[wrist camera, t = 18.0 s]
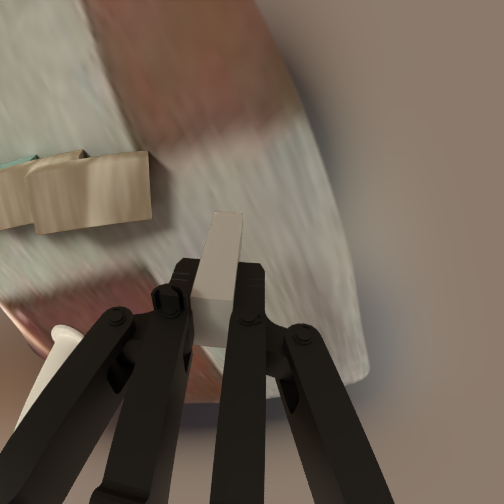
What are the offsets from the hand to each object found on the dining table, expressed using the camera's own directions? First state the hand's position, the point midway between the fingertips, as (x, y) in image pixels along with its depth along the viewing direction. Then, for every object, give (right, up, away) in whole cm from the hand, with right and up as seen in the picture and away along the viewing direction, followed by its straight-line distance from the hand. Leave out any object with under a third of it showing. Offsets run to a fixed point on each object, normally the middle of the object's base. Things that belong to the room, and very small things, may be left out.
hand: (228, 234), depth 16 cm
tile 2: (-13, +5, +6) cm, 15 cm away
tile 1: (-7, +4, +6) cm, 10 cm away
